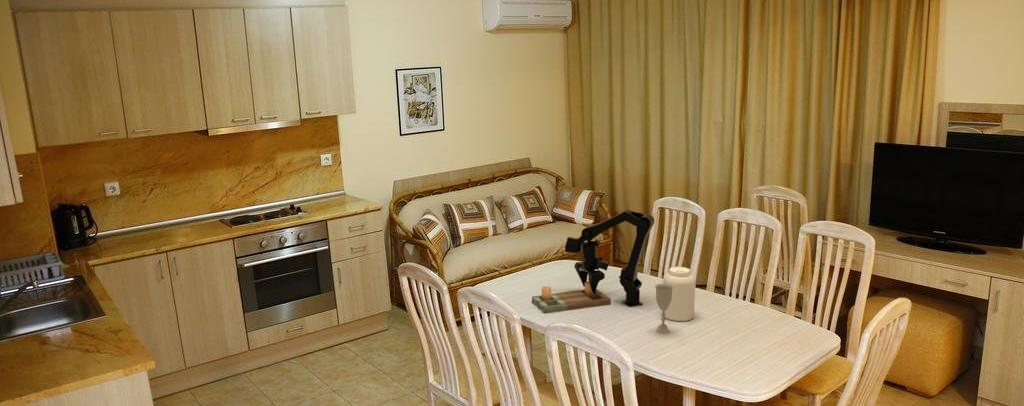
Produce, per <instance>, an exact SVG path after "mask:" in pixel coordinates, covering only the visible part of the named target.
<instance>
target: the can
mask: <svg viewBox="0 0 1024 406" xmlns="http://www.w3.org/2000/svg"><path fill="white" fill-rule="evenodd" d="M662 284H670V285H673V289H672V300H671V303H670V305H669V307H668V308H667V310H665V319H667V320H669V321H675V322H685V321H686V322H687V321H690V320H693V318H694V317H695V305H696V304H695V300H696V299H695V297H696V278H695V276H694V275H693V274H692V271H691V269H690V268H688V267H684V266H672V267H670V268H669V269H668V272H667V273H665V275H664V277H663V283H662Z"/></svg>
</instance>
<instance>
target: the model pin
mask: <svg viewBox="0 0 1024 406" xmlns="http://www.w3.org/2000/svg"><path fill="white" fill-rule="evenodd" d="M551 294H552V287H550V286H542V287H541V295H542V301H547V300H551Z"/></svg>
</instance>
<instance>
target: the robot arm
mask: <svg viewBox="0 0 1024 406" xmlns="http://www.w3.org/2000/svg"><path fill="white" fill-rule="evenodd" d="M623 222H627V223H628V224H631V225H632V226H634V227H635V231H636V236H635V239H634V242H633V246H632V249H631V252H630V255H629V259H628V261H627V265H624V266H623V267H622V268H621V271H620V275H619V276H618V279H619V283H620V285H621V286H622V288H623V290H624V293H625V300H622V303H623V304H624V305H625V306H627V307H636V306H637V307H638V306H643V302H641V301H640V300H641V299H640V295H641V293H640V291H641V290H640V288H641V287H642V284H643V283H642V281H641V280H640V279H639V278H638V271H639V270H638V266H639V263H640V259H641V257H642V253H643V249H644V246H645V244H646V240H647V236H649V234H650V232H651V230H652V228H653V227H654V226H655V225H654V224H655V218H654V216H653V215H651V214H649V213H642V212H637V211H633V210H630V209H625V210H624V211H622V212H620V213H618V214H617V215H614V216H612V217H610V218H608V219H606V220H604V221H602V222H598V223H593V224H590V225H587V226H586V227H585V228H583V229H582V230H581V234H580V236H579V237H578V238H577V237H572V236H571V237H570V236H568V237H567V238H566V243H565V245H564V250H565V253H566V254H567V253H568V254H577V255H580V254H581V253H582V256H580V259H581V260H582V261H578V262H575V263H574V269H575V272H576V273H577V275H578V277H579V279H580V281H581V283H582V286H583V287H584V288H585V282H587V281H589V283H590V287H591V290H592V293H595V291H596V289H597V287H598V285H599V283H600V281H603V280H605V278H606V274H605V273H604V272H603V271H602V270H604V271H607V270H608V268H609V266H610V264H609V262H607V261H605V260H603V258H602V257H601V256H597V247H600V246H601V245H602V243H601V242H600V241H599V239H595V238H596V237H597V236H599V235H600V234H602V233H603V232H605V231H607V230H610V229H612V228H614V227H616V226H618V225H620V224H622V223H623ZM594 239H595V240H594ZM600 269H601V270H600Z"/></svg>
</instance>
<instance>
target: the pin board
mask: <svg viewBox="0 0 1024 406" xmlns="http://www.w3.org/2000/svg"><path fill="white" fill-rule="evenodd" d="M611 302H612V298H610V297H609V296H607V295H606V294H605V293H603V292H601V291H600V290H599V289H597V288H596V291H595V293H594V294H592V295H585V289H580V290H573V291H565V292H557V293H551V300H547V301H542V294H541V295H534V296H531V303H532V304H534V305H535V306H536V307H537V309H539V310H540V311H541V312H543V313H544V314H552V313H560V312H565V311H566V312H567V311H573V310H579V309H580V310H581V309H587V308H594V307H595V308H596V307H603V306H610V305H611V304H612V303H611Z"/></svg>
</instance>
